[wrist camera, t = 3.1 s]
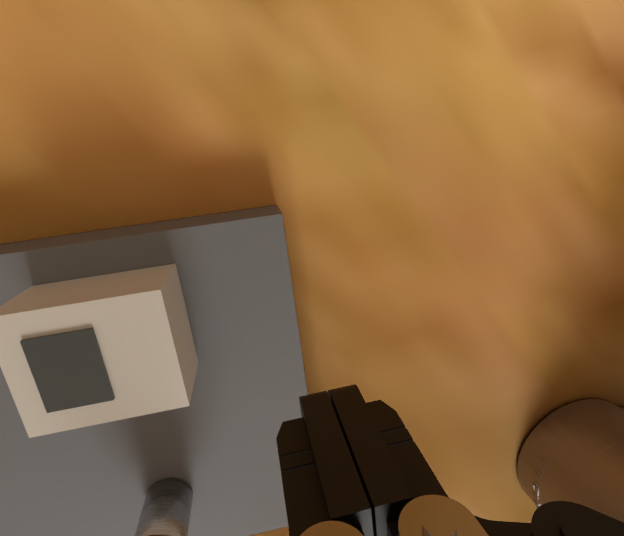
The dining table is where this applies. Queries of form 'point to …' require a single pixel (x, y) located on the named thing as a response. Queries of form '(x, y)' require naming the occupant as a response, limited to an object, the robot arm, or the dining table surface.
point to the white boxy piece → (98, 349)
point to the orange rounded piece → (166, 509)
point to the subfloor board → (205, 396)
